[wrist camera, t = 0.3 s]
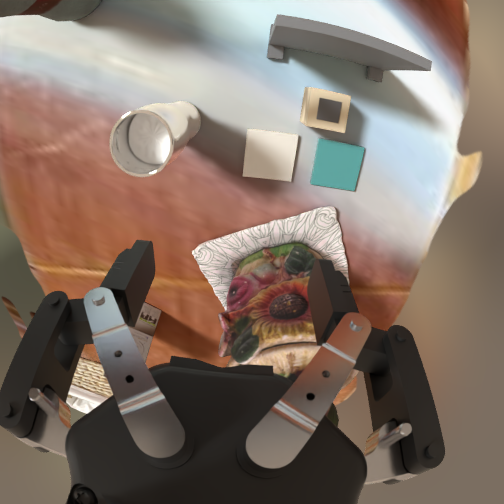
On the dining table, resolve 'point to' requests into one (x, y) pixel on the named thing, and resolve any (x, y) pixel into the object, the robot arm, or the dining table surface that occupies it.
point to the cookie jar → (272, 290)
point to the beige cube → (325, 109)
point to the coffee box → (145, 329)
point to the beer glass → (153, 136)
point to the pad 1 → (269, 154)
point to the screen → (341, 46)
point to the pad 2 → (336, 164)
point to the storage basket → (88, 386)
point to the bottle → (49, 8)
